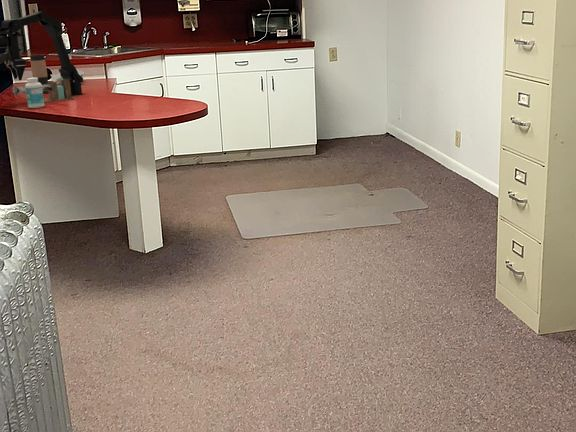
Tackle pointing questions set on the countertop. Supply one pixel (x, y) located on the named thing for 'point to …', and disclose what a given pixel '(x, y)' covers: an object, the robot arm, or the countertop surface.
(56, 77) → the sculpture
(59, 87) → the collar
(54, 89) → the bearing stand
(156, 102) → the countertop surface
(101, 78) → the countertop surface
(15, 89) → the shaft
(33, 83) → the pill bottle
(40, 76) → the travel mug
